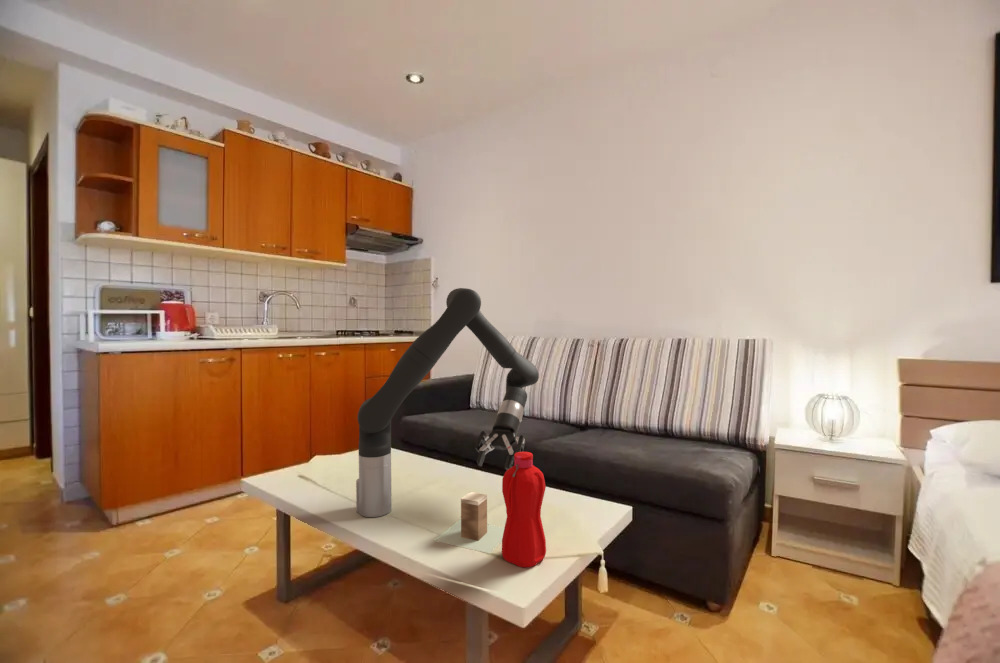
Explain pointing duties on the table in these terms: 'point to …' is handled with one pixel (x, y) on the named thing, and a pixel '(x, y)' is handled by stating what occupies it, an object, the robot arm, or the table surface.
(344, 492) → the table surface
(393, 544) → the table surface
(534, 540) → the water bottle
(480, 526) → the walnut block
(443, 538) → the sage mat
